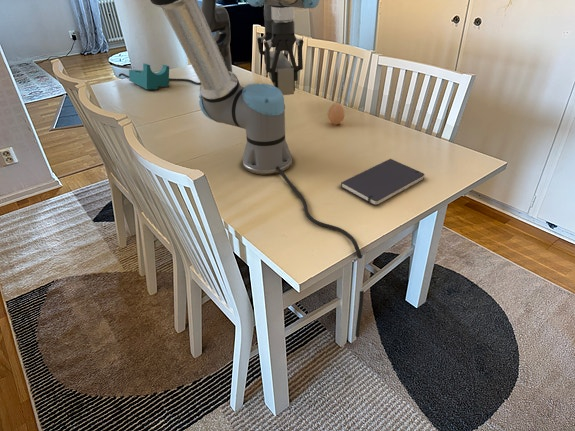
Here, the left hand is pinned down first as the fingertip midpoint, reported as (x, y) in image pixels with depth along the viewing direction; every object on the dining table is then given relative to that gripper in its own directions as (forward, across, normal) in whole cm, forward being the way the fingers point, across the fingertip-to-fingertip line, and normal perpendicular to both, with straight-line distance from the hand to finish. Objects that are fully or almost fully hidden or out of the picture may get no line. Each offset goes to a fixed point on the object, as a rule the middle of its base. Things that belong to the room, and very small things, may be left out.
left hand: (276, 64), depth 158 cm
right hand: (+4, 0, +18) cm, 19 cm away
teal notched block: (+16, +54, -41) cm, 70 cm away
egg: (+16, -18, +25) cm, 35 cm away
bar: (+5, 0, +9) cm, 10 cm away
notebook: (+16, -19, +69) cm, 73 cm away
